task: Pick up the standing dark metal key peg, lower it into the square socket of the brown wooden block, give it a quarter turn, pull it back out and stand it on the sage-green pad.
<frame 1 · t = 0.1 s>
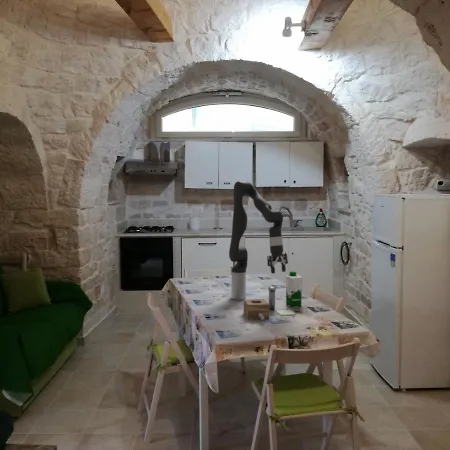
hand: (278, 272, 270), 22 cm above the table, tool pointing down, fingers open, 8 cm apart
pad: (285, 313, 266), on the table
milk carton: (293, 305, 283), on the table
brown wooden block: (256, 315, 260), on the table
key peg: (271, 309, 272), on the table
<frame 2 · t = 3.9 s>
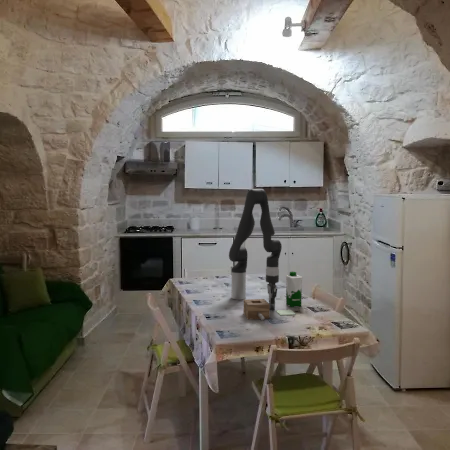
hand: (271, 302, 272), 4 cm above the table, tool pointing down, fingers closed on key peg, 3 cm apart
key peg: (271, 309, 272), on the table, touching gripper
everything else where it was.
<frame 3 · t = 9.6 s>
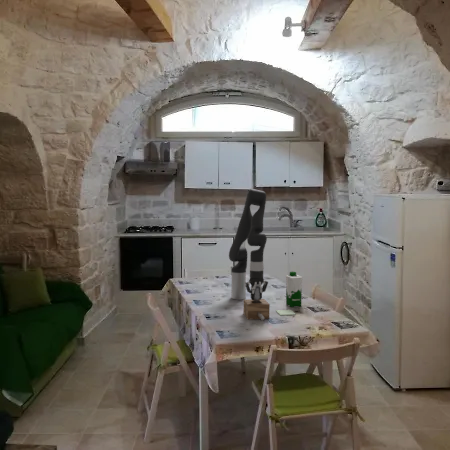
hand: (256, 299, 259), 9 cm above the table, tool pointing down, fingers closed on key peg, 3 cm apart
key peg: (256, 307, 258), point 5 cm above the table, tilted 5°, touching gripper
everything else where it was.
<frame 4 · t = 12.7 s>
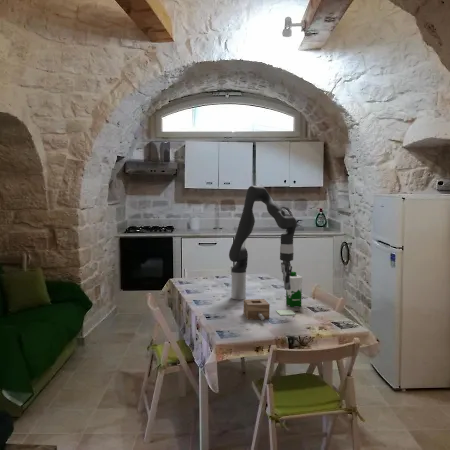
hand: (286, 281, 264), 18 cm above the table, tool pointing down, fingers closed on key peg, 3 cm apart
key peg: (287, 289, 265), point 14 cm above the table, tilted 5°, touching gripper
everything else where it was.
when the fingers open (6 cm above the table, at t = 15.6 s): key peg stays where it is, resting on pad.
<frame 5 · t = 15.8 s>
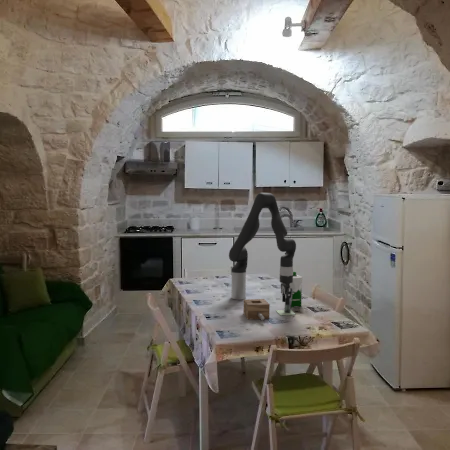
hand: (285, 303, 265), 6 cm above the table, tool pointing down, fingers open, 5 cm apart
key peg: (287, 311, 266), point 1 cm above the table, tilted 5°, touching pad
everything else where it was.
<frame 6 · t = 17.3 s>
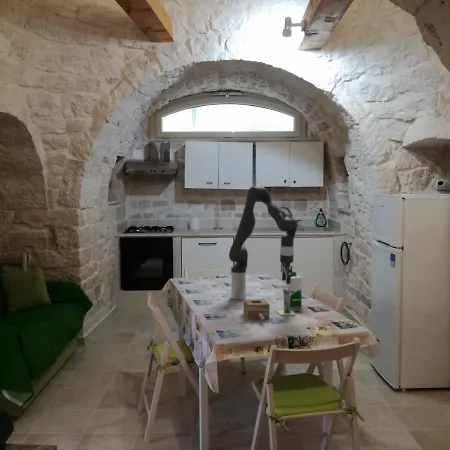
hand: (286, 282, 264), 18 cm above the table, tool pointing down, fingers open, 8 cm apart
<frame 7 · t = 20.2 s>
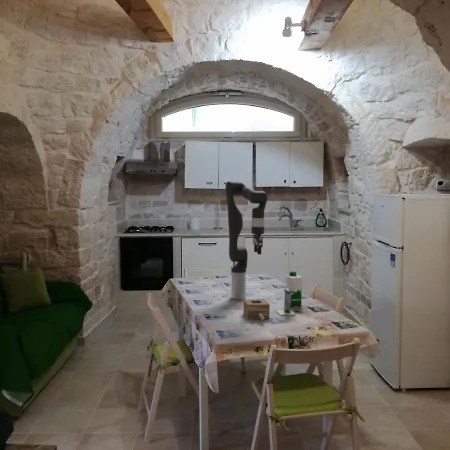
hand: (257, 253, 272), 33 cm above the table, tool pointing down, fingers open, 8 cm apart
nothing on the table moved.
at the end: key peg inside the target area on the pad (1.0 cm from its centre), point 0.6 cm above the pad's base; key peg tilted 1°; the gripper is holding nothing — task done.
